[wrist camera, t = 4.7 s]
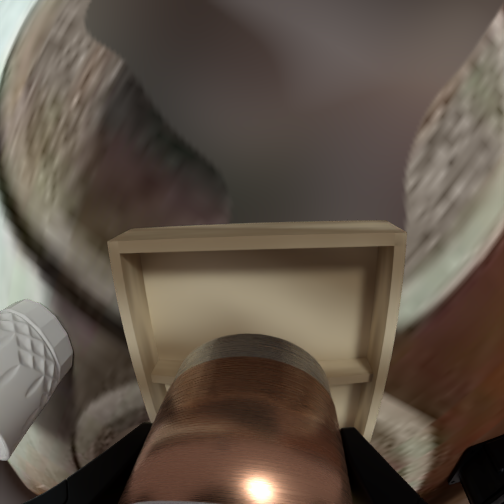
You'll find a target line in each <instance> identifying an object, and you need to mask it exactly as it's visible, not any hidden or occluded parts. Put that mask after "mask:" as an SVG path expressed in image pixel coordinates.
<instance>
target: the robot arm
mask: <svg viewBox="0 0 504 504" xmlns="http://www.w3.org/2000/svg"><path fill="white" fill-rule="evenodd" d="M152 424H153V423H150V422H144V423H142V424H140V425H139V426H138V427H137V428H135V429H134V430H133V431H131V432H130V433H129V434H127V435H126V436H125V437H124V438H122V439H121V440H120V441H118V442H117V443H115V444H114V445H113V446H111V447H110V448H109V449H107V450H106V451H105V452H103V453H102V454H100V455H99V456H98V457H96V458H95V459H94V460H92V461H91V462H89V463H88V464H87V465H85V466H84V467H82V468H81V469H80V470H78V471H77V472H75V473H74V474H72V475H71V476H69V477H68V478H67V479H65V480H63V481H62V482H61V483H59V484H58V485H56V486H54V487H53V488H51V489H50V490H48V491H46V492H45V493H43V494H41V495H39V496H37V497H35V498H33V499H31V500H29V501H27V502H25V503H23V504H118V502H119V500H120V498H121V495H122V493H123V491H124V488H125V486H126V484H127V481H128V479H129V477H130V474H131V472H132V470H133V467H134V465H135V463H136V461H137V458H138V456H139V454H140V451H141V449H142V447H143V445H144V442H145V440H146V438H147V436H148V433H149V431H150V429H151V427H152ZM340 433H341V438H342V444H343V449H344V454H345V460H346V465H347V471H348V477H349V483H350V488H351V494H352V501H353V504H427V503H426V502H425V501H424V499H423V498H420V496H419V495H418V494H417V493H416V491H415V490H414V489H413V488H412V487H411V486H410V485H409V484H408V483H407V482H406V481H405V480H404V479H403V478H402V477H401V476H400V475H399V474H398V473H397V472H396V471H395V470H394V469H393V468H392V467H391V466H390V465H389V463H388V462H387V461H386V460H385V459H384V458H383V457H382V456H381V455H380V454H379V453H378V452H377V451H376V450H375V449H374V448H373V446H372V445H371V444H370V443H369V442H368V441H367V440H366V439H365V438H364V437H363V436H362V435H361V434H360V432H359V431H358V430H357V429H356V428H355V427H342V428H341V429H340ZM457 482H461V484H462V486H463V489H464V491H465V493H466V496H467V498H468V500H469V503H470V504H504V435H502V436H500V437H497V438H495V439H492V440H489V441H487V442H484V443H481V444H478V445H475V446H473V447H470V448H469V449H468V450H467V451H466V453H465V454H464V456H463V458H462V459H461V461H460V463H459V464H458V466H457V468H456V469H455V471H454V472H453V474H452V475H451V477H450V479H449V480H448V484H449V485H451V484H454V483H457Z"/></svg>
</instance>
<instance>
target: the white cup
mask: <svg viewBox="0 0 504 504" xmlns="http://www.w3.org/2000/svg"><path fill="white" fill-rule="evenodd" d="M72 360H73V349H72V346H71V343H70V340H69V337H68V334H67V332H66V331H65V329H64V328H63V326H62V325H61V323H60V322H59V320H58V319H57V317H56V316H55V315H54V314H52V313H51V312H50V311H49V310H48V309H47V308H46V307H44V306H43V305H42V304H40V303H38V302H35V301H32V300H29V299H24V300H21V301H18V302H15V303H13V304H11V305H10V306H8V307H6V308H5V309H3V310H1V311H0V460H8V459H9V458H10V456H11V455H12V453H13V452H14V450H15V448H16V447H17V445H18V444H19V442H20V441H21V440H22V438H23V437H24V435H25V434H26V432H27V431H28V429H29V428H30V426H31V425H32V424H33V422H34V421H35V419H36V418H37V417H38V415H39V414H40V412H41V411H42V410H43V408H44V407H45V405H46V403H47V402H48V401H49V399H50V397H51V396H52V394H53V393H54V391H55V388H56V386H57V385H58V384H59V382H60V381H61V380H62V378H63V377H64V376H65V374H66V373H67V372H68V371H69V369H70V368H71V367H72Z"/></svg>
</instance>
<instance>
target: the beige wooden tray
mask: <svg viewBox="0 0 504 504" xmlns="http://www.w3.org/2000/svg"><path fill="white" fill-rule="evenodd" d="M406 238H407V232H405V231H403V230H402V229H400V228H398V227H396V226H395V225H393V224H391V223H389V222H388V221H316V222H315V221H314V222H313V221H312V222H276V223H242V224H216V225H193V226H172V227H153V228H135V229H130V230H128V231H126V232H125V233H123V234H121V235H119V236H117V237H115V238H113V239H111V240H109V241H108V242H107V244H108V250H109V257H110V263H111V269H112V274H113V280H114V285H115V290H116V295H117V300H118V305H119V310H120V315H121V319H122V323H123V328H124V332H125V336H126V340H127V344H128V348H129V352H130V356H131V360H132V363H133V367H134V371H135V374H136V378H137V381H138V384H139V388H140V391H141V394H142V398H143V401H144V404H145V407H146V410H147V413H148V416H149V419H150V422H151V423H153V422H154V420H155V418H156V415H157V413H158V411H159V409H160V406H161V404H162V402H163V400H164V398H165V395H166V393H167V391H168V389H169V387H170V386H171V384H172V383H173V382H174V379H175V377H176V375H177V373H178V370H179V368H180V366H181V364H182V363H183V361H184V360H185V359H186V357H187V356H188V355H189V354H190V353H191V352H193V351H194V350H195V349H196V348H198V347H199V346H201V345H203V344H204V343H206V342H209V341H211V340H213V339H216V338H220V337H223V336H227V335H234V334H247V333H249V334H262V335H268V336H273V337H277V338H281V339H283V340H286V341H289V342H291V343H293V344H295V345H297V346H299V347H301V348H302V349H304V350H305V351H306V352H308V353H309V354H310V355H311V356H313V357H314V358H315V359H316V360H317V362H318V363H319V364H320V365H321V367H322V368H323V370H324V372H325V374H326V376H327V379H328V382H329V387H330V392H331V397H332V400H333V402H334V405H335V408H336V413H337V418H338V423H339V428H340V429H341V428H342V427H355V428H356V429H357V430H358V431H359V432H360V434H361V435H362V436H363V437H364V438H365V439H366V440H367V441H368V442H369V443H370V441H371V437H372V434H373V430H374V427H375V423H376V420H377V416H378V412H379V408H380V404H381V400H382V396H383V392H384V388H385V383H386V379H387V374H388V370H389V365H390V360H391V355H392V350H393V344H394V338H395V333H396V327H397V320H398V314H399V307H400V299H401V291H402V283H403V274H404V263H405V252H406Z"/></svg>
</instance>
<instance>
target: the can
mask: <svg viewBox="0 0 504 504" xmlns="http://www.w3.org/2000/svg"><path fill="white" fill-rule="evenodd" d="M118 504H353V501H352V494H351V488H350V483H349V477H348V471H347V465H346V460H345V454H344V449H343V444H342V438H341V433H340V428H339V423H338V418H337V413H336V408H335V405H334V402H333V400H332V397H331V392H330V387H329V382H328V379H327V376H326V374H325V372H324V370H323V368H322V367H321V365H320V364H319V363H318V362H317V360H316V359H315V358H314V357H313V356H311V355H310V354H309V353H308V352H306V351H305V350H304V349H302V348H301V347H299V346H297V345H295V344H293V343H291V342H289V341H286V340H283V339H281V338H277V337H273V336H268V335H262V334H249V333H247V334H234V335H227V336H223V337H220V338H216V339H213V340H211V341H209V342H206V343H204V344H203V345H201V346H199V347H198V348H196V349H195V350H194V351H193V352H191V353H190V354H189V355H188V356H187V357H186V359H185V360H184V361H183V363H182V364H181V366H180V368H179V370H178V373H177V375H176V377H175V379H174V382H173V383H172V384H171V386H170V387H169V389H168V391H167V393H166V395H165V398H164V400H163V402H162V404H161V406H160V409H159V411H158V413H157V415H156V418H155V420H154V422H153V424H152V427H151V429H150V431H149V433H148V436H147V438H146V440H145V442H144V445H143V447H142V449H141V451H140V454H139V456H138V458H137V461H136V463H135V465H134V467H133V470H132V472H131V474H130V477H129V479H128V481H127V484H126V486H125V488H124V491H123V493H122V495H121V498H120V500H119V502H118Z"/></svg>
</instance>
